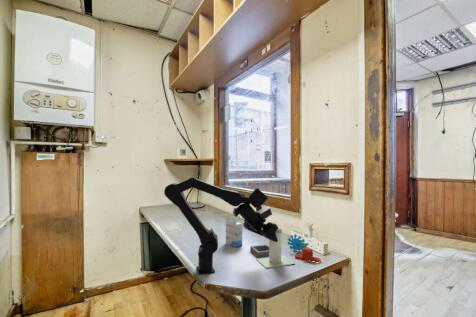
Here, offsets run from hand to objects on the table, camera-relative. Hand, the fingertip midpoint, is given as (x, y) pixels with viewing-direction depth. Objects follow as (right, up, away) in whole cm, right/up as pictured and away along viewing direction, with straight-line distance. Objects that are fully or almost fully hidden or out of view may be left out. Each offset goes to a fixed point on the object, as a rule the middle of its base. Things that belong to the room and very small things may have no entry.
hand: (270, 238), depth 103 cm
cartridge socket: (-2, -11, +11) cm, 16 cm away
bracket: (+17, -11, +4) cm, 21 cm away
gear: (+16, -12, +14) cm, 24 cm away
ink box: (-17, -12, +24) cm, 31 cm away
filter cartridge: (+2, -10, +1) cm, 10 cm away
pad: (+2, -11, +1) cm, 11 cm away
